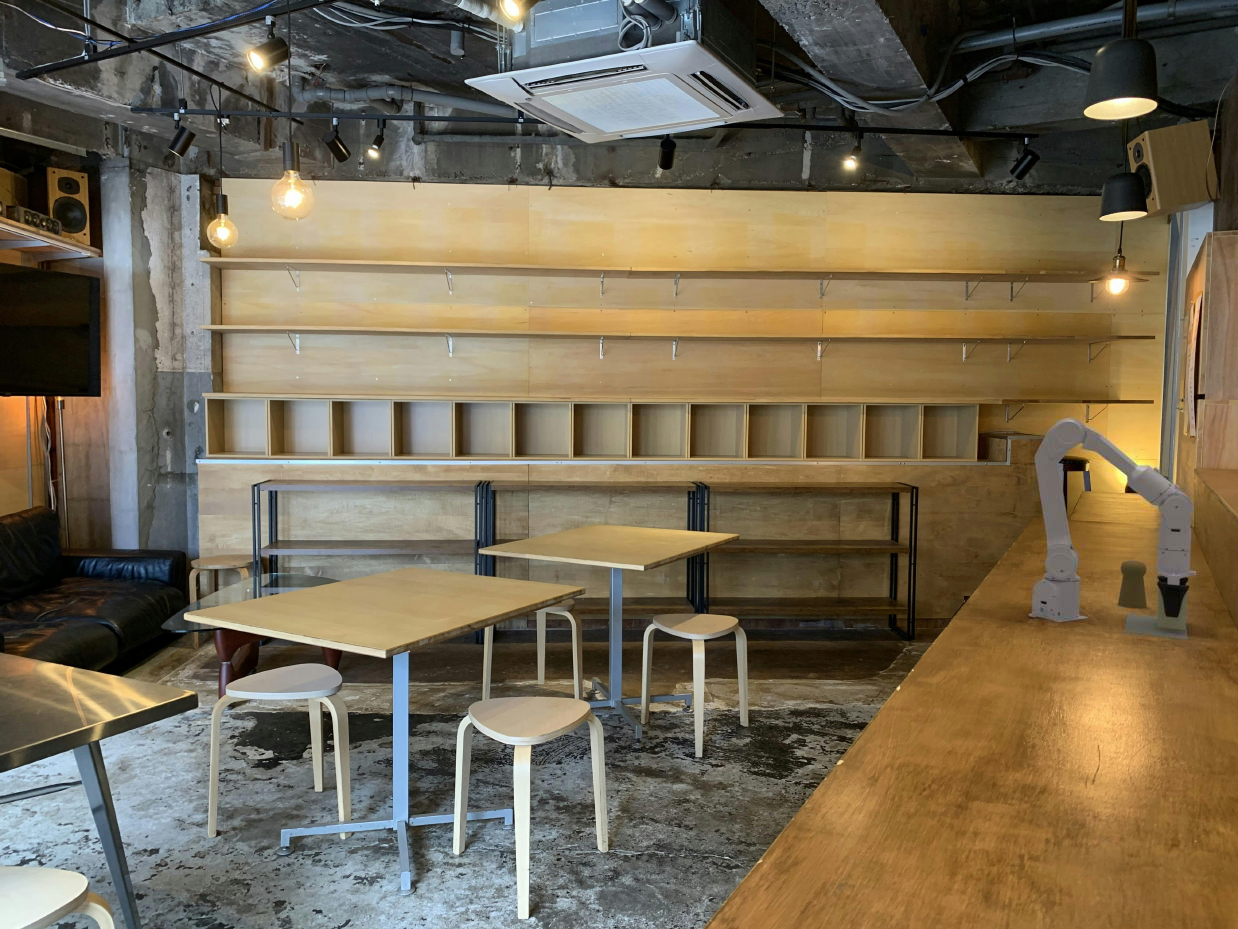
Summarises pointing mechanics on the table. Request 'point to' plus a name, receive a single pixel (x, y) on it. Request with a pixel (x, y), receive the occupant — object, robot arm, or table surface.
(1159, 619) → the block
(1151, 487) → the robot arm
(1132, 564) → the cork
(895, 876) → the table surface
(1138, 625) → the mat
